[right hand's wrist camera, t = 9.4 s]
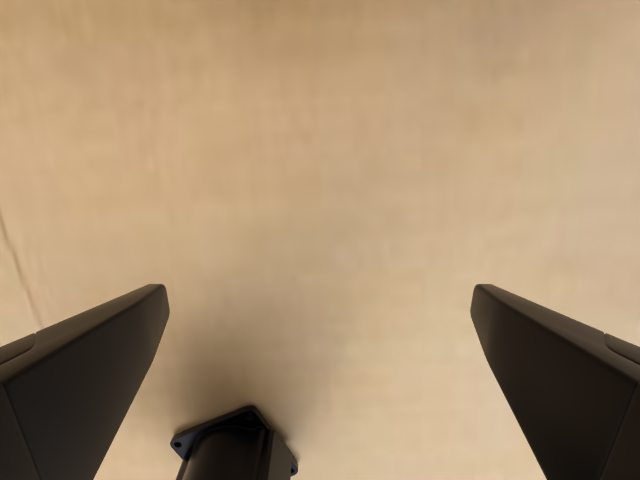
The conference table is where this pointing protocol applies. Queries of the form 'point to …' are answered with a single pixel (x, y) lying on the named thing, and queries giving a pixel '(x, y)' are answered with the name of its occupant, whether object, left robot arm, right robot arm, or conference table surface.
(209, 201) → the conference table surface
